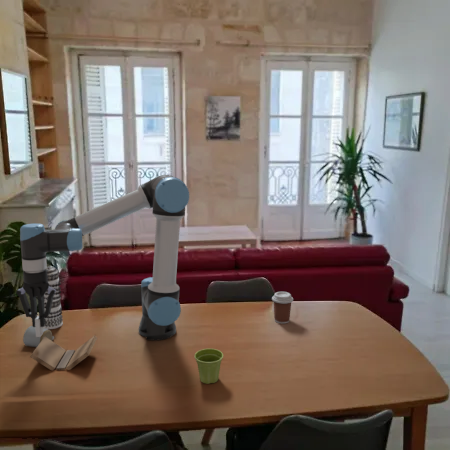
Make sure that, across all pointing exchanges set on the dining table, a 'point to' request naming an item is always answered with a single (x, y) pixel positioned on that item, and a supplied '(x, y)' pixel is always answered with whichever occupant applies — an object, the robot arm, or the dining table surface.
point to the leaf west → (81, 352)
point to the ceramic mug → (31, 337)
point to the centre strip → (65, 360)
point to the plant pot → (209, 364)
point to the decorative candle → (55, 315)
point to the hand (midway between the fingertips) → (39, 335)
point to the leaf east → (48, 353)
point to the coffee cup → (282, 306)
